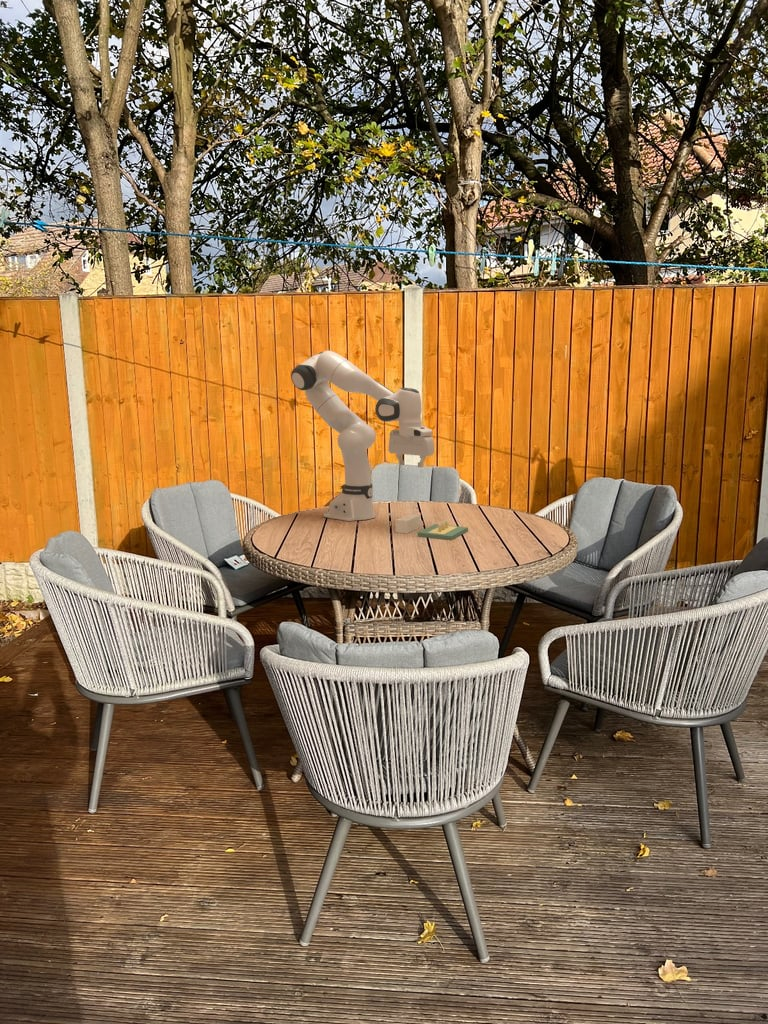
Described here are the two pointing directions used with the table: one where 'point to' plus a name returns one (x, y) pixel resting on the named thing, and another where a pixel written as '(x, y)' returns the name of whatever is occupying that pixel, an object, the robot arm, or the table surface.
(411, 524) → the housing
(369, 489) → the robot arm
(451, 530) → the header board
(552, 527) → the table surface
